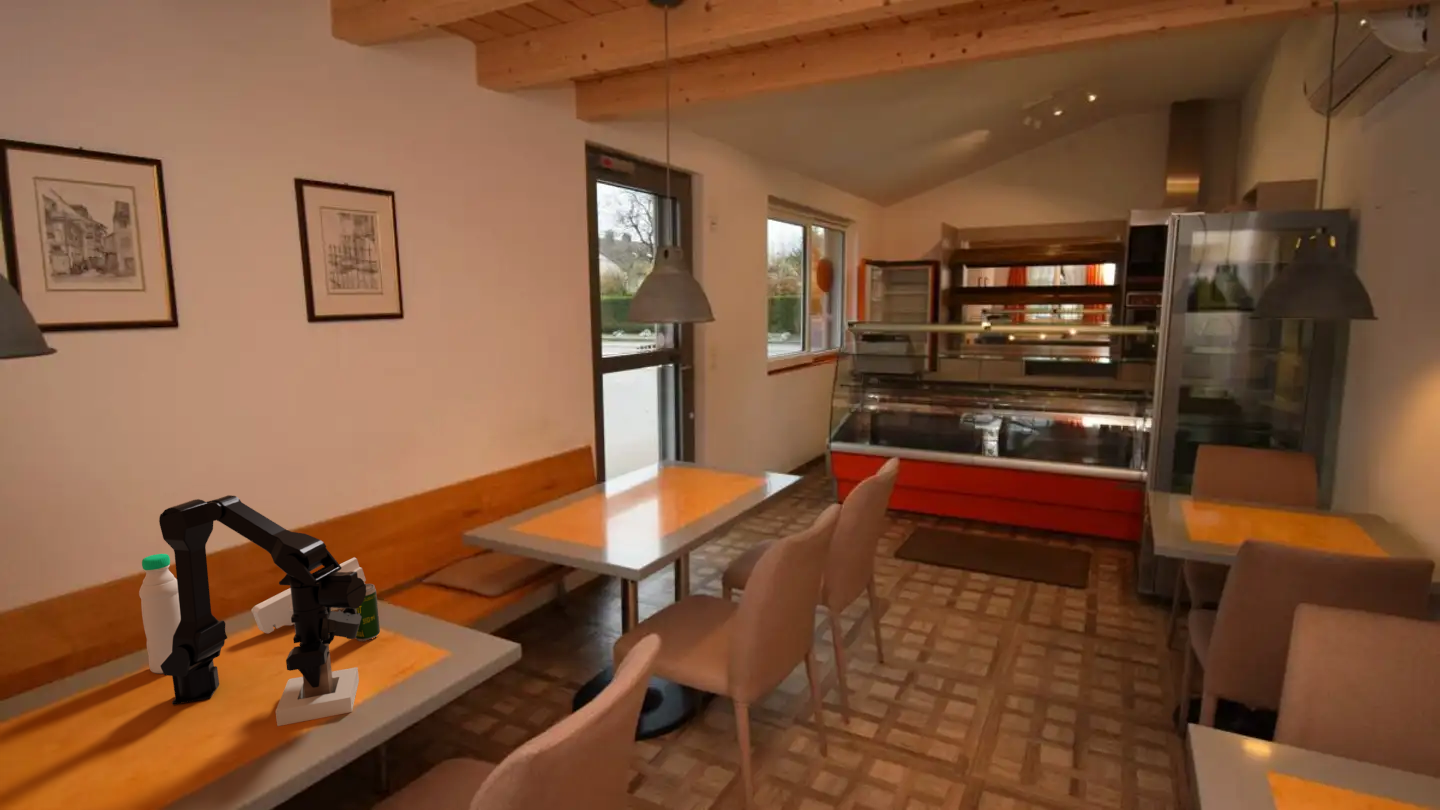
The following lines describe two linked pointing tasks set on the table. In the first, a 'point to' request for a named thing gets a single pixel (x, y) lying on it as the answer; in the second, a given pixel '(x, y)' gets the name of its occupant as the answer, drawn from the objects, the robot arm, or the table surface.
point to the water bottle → (159, 608)
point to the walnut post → (321, 680)
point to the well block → (317, 699)
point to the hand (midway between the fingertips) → (317, 681)
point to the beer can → (368, 615)
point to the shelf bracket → (289, 603)
